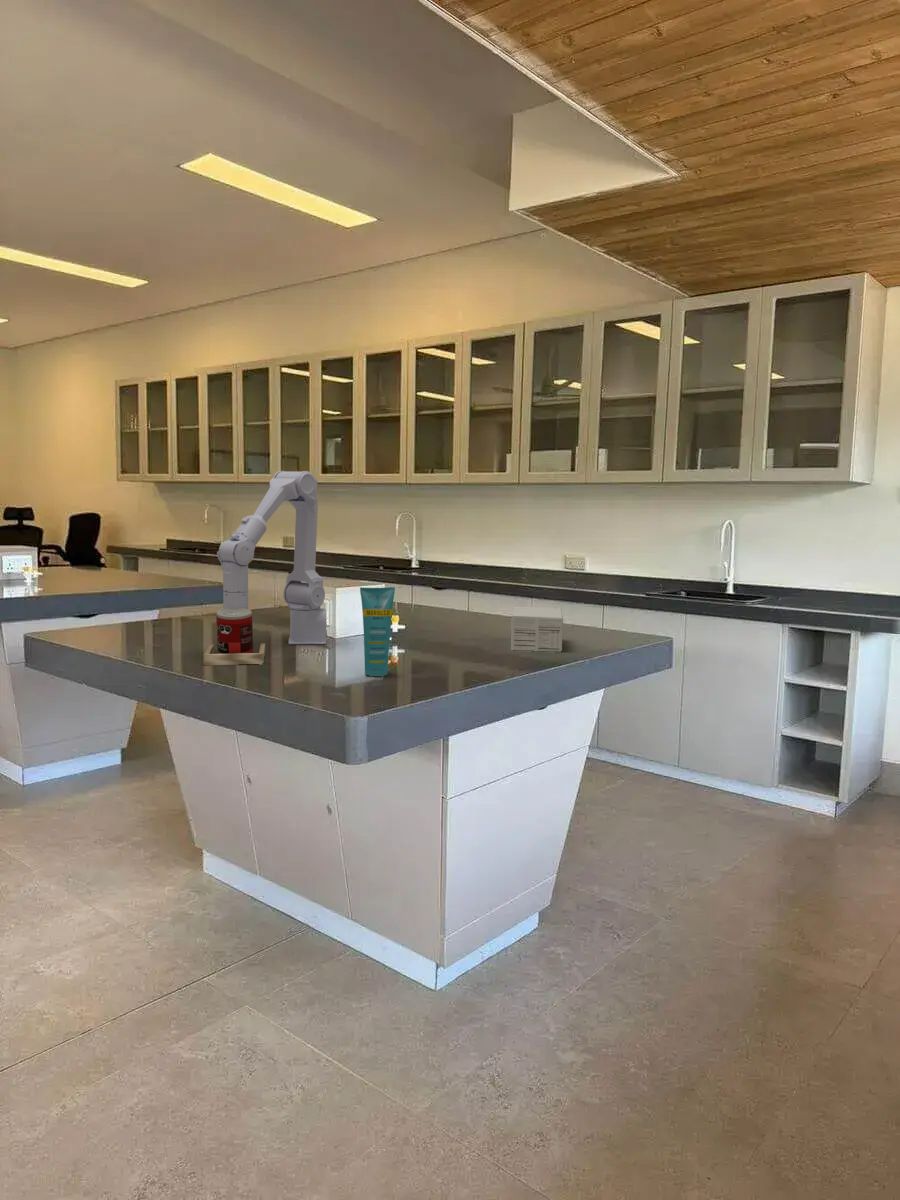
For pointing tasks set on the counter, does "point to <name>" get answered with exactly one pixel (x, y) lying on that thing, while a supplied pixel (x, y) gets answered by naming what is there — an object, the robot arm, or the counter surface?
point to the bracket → (233, 657)
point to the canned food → (234, 631)
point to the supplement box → (536, 628)
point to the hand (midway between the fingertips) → (236, 648)
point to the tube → (377, 628)
